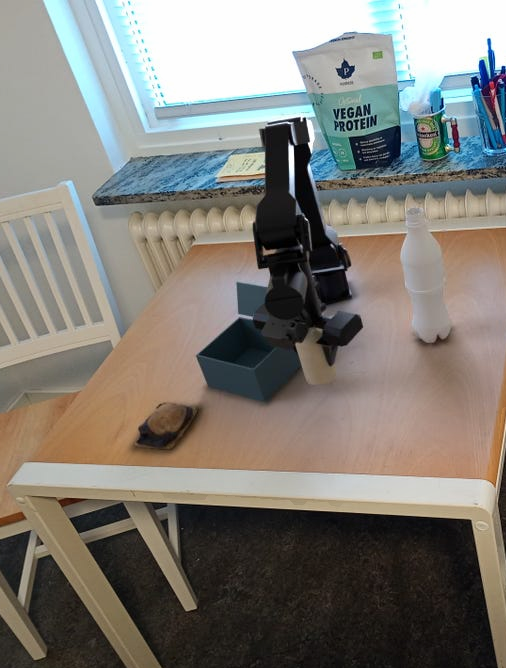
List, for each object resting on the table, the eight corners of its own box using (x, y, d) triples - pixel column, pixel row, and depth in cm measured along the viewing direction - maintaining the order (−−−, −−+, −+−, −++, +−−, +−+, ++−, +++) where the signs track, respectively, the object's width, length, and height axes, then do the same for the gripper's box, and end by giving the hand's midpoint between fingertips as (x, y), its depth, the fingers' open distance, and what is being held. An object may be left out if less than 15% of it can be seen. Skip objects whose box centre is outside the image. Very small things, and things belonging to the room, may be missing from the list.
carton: (250, 347, 142) (239, 316, 137) (305, 360, 135) (296, 328, 130) (208, 387, 134) (195, 355, 129) (265, 402, 127) (253, 370, 122)
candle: (343, 369, 126) (330, 322, 120) (325, 388, 122) (312, 341, 117) (317, 363, 129) (304, 316, 123) (299, 382, 125) (285, 335, 119)
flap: (238, 314, 137) (239, 313, 137) (294, 325, 130) (296, 324, 130) (236, 282, 135) (237, 281, 135) (293, 291, 128) (295, 291, 128)
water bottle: (456, 324, 135) (440, 200, 120) (447, 347, 130) (430, 220, 115) (419, 323, 138) (399, 201, 123) (409, 345, 132) (387, 221, 118)
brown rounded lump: (162, 406, 132) (155, 390, 129) (202, 409, 129) (195, 393, 126) (131, 447, 124) (122, 431, 122) (172, 451, 121) (165, 434, 119)
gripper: (219, 302, 114) (247, 379, 123) (315, 321, 105) (337, 403, 114) (261, 266, 121) (285, 342, 130) (355, 281, 112) (373, 361, 121)
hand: (317, 361), depth 124 cm, fingers closed on candle, 5 cm apart
